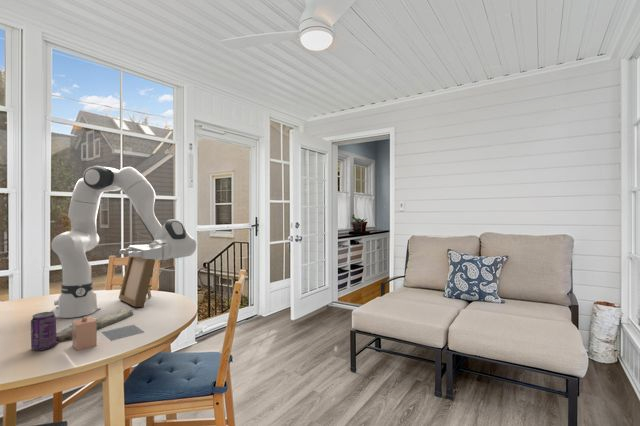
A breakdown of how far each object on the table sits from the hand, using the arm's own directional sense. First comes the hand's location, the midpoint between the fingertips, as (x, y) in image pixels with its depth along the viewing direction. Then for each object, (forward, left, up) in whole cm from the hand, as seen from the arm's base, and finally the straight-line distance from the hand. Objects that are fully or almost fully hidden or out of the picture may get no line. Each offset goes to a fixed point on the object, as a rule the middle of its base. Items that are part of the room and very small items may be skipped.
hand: (124, 253), depth 139 cm
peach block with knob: (+6, -15, -32) cm, 36 cm away
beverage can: (-4, -25, -32) cm, 41 cm away
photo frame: (-39, +21, -32) cm, 55 cm away
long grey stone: (-13, -6, -33) cm, 36 cm away
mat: (+2, -1, -32) cm, 32 cm away
